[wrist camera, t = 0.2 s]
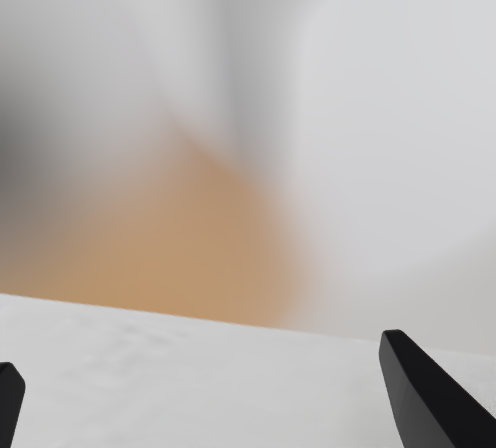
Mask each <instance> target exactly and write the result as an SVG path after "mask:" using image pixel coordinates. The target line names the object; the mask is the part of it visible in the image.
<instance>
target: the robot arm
mask: <svg viewBox="0 0 496 448" xmlns="http://www.w3.org/2000/svg"><path fill="white" fill-rule="evenodd" d="M379 360H380V365H381V368H382V372H383V376H384V380H385V384H386V388H387V392H388V396H389V400H390V404H391V408H392V411H393V415H394V419H395V423H396V426H397V429H398V432H399V435H400V437H401V440H402V443H403V445H404V448H496V419H495V418H494V417H493V416H492V415H491V414H490V413H489V412H488V411H487V410H486V409H485V408H484V407H483V406H481V405H480V404H479V403H478V402H477V401H476V400H475V399H474V398H473V397H472V396H471V395H470V394H469V393H468V392H467V391H466V390H464V389H463V388H462V387H461V386H460V385H459V384H458V383H457V382H456V381H455V380H454V379H453V378H452V377H451V376H450V375H449V374H448V373H446V372H445V371H444V370H443V369H442V368H441V367H440V366H439V365H438V364H437V363H436V362H435V361H434V360H433V359H432V358H431V357H430V356H428V355H427V354H426V353H425V352H424V351H423V350H422V349H421V348H420V347H419V346H418V345H417V344H416V343H415V342H414V341H413V340H412V339H410V338H409V337H408V336H407V335H406V334H405V333H404V332H403V331H401V330H398V329H396V330H385V331H383V333H382V337H381V342H380V348H379ZM24 393H25V381H24V379H23V378H22V376H21V375H20V374H19V372H18V371H17V369H16V368H15V366H14V365H13V364H12V363H10V362H0V448H10V447H11V444H12V440H13V436H14V432H15V428H16V425H17V421H18V417H19V413H20V409H21V405H22V401H23V397H24Z"/></svg>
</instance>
